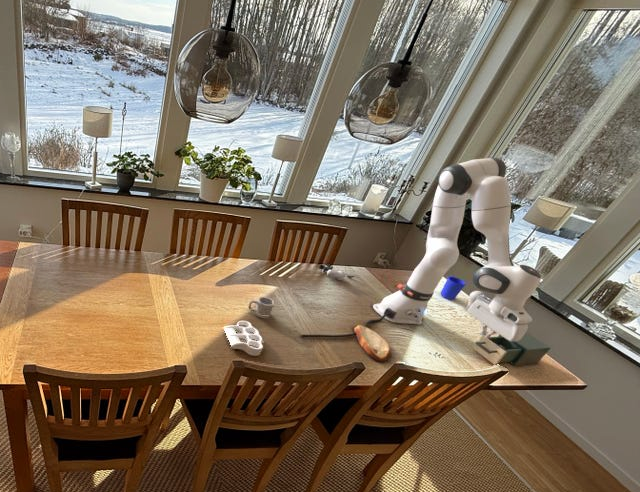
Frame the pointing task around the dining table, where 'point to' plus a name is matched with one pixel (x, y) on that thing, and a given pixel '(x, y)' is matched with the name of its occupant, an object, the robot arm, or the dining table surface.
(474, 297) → the lightbulb
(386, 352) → the bread slice
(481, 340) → the drawer
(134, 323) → the dining table surface
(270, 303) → the mug
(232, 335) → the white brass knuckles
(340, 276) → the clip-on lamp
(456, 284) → the mug
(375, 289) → the dining table surface
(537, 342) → the cabinet
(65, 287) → the dining table surface
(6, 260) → the dining table surface
